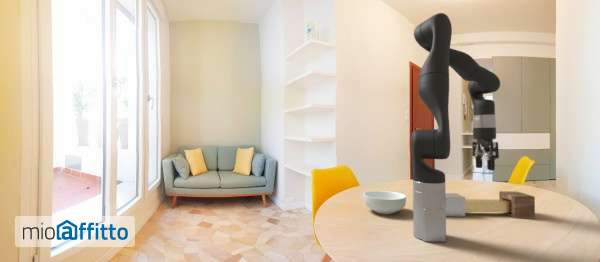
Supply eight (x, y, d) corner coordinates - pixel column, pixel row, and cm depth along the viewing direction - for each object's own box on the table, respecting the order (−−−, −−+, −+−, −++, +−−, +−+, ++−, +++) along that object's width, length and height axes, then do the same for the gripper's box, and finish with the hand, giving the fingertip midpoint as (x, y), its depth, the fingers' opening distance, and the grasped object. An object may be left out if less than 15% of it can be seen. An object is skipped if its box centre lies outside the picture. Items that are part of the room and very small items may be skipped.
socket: (534, 218, 103) (534, 196, 103) (514, 218, 104) (514, 196, 104) (518, 211, 112) (517, 191, 112) (499, 211, 113) (499, 191, 113)
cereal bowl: (413, 217, 105) (412, 199, 106) (368, 218, 106) (368, 199, 106) (398, 206, 122) (397, 189, 122) (360, 206, 123) (359, 190, 123)
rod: (521, 212, 106) (521, 202, 106) (455, 212, 108) (455, 201, 108) (514, 209, 110) (514, 199, 110) (450, 209, 112) (450, 198, 112)
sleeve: (465, 216, 106) (465, 197, 106) (424, 215, 107) (424, 197, 107) (456, 211, 113) (456, 193, 113) (418, 210, 114) (418, 193, 114)
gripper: (505, 126, 101) (506, 171, 100) (484, 127, 115) (485, 167, 114) (483, 126, 102) (484, 170, 101) (465, 127, 116) (465, 166, 115)
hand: (484, 168), depth 108 cm, fingers open, 8 cm apart
